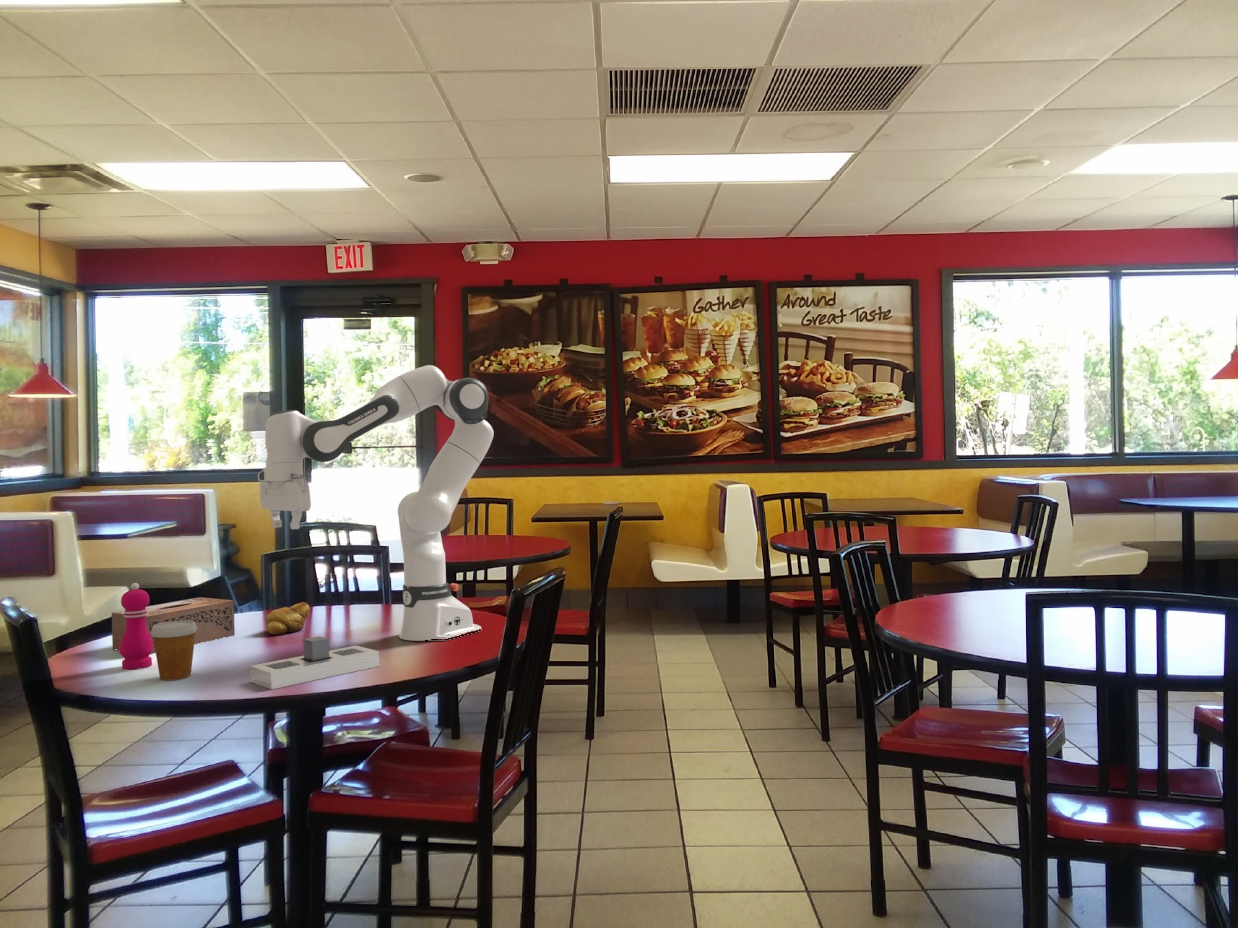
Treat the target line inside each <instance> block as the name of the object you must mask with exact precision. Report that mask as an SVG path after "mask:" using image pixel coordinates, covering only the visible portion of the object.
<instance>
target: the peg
mask: <svg viewBox="0 0 1238 928" xmlns="http://www.w3.org/2000/svg"><path fill="white" fill-rule="evenodd" d="M329 651H330V639H329V638H328V637H325V636H320V635H319V636H313V637H309V638H308V637H307V638H304V639H303V656H304V661H307V662H316V661H321V660H326V659H329Z"/></svg>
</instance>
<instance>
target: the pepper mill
mask: <svg viewBox="0 0 1238 928" xmlns="http://www.w3.org/2000/svg"><path fill="white" fill-rule="evenodd" d="M130 588H131V589H130V590H127V591H126V592H125V593H123V594H122V596H121V599H120V604H121V607H122V608H123V609H124V610H126V611H124V610H123V611H124V617H126V629H125V633H124V636H123V638H122V640H121V643H120V648H119V651H118V653H119V654H120V656H122V657H123V659H122V660H121V667H122V669H123V670H126V669H127V670H133V669H134V670H140V669H139V668H142V669H145V668H146V669H147V668H148V667H152V665H153V658H152V656H150V655H152V654H151V652H152V651H153V649H154V645H153V641H152V638H151V636H150V634H149V632H148V630H147V627H146V615H147V614H148V613H147V609H146V607H147V606H149V605H150V603H151V602H150V595H149V594H148V592H147V590H146V591H145V590H143V589H139V588H140V585H139V583H137V582H134V583H131V585H130Z"/></svg>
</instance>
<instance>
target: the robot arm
mask: <svg viewBox="0 0 1238 928" xmlns="http://www.w3.org/2000/svg"><path fill="white" fill-rule="evenodd" d="M432 406H434V407H435V408H436V409H437V410H438V411H439V412H440V413H441V414H442V415H443V416H444V417H445V418H446V419H448V420H451V421H454V428H453V430H452V433H451V435H450V436H449V437H448V439H447V440H446V442H445V443H444V444H443V446H442V448H441V449H440V450H439V452H438V454H437V455H436V457H435V458H434V459H433V461H432V463H431V464H430V465H429V468H428V471H427V474H426V476H425V478H424V479H423V482H422V484H421V486H420V488H419V489H418V491H413V492H410V493H408V494H406V495H405V496H404V497H403V498H402V499H401V500H400V502H399V503H398V506H397V517H398V523H399V535H400V540H401V547H402V554H403V580H404V581H403V582H404V583H403V585H402V601H403V615H402V623H401V629H400V633H399V636H398V638H399V637H400V638H399V639H401V640H404V641H414V642H415V641H416V642H417V641H419V642H421V641H422V642H426V641H425V640H428V641H432V640H431V639H448V638H451V637H455V636H459V635H461V634H465V633H467V632H471V631H476V630H479V629H481V630H482V626H481V625H479V624H475V623H474V621H473V614H472V611H471V609H470V607H468V606H467V605H466V604H464V603H463V602H461V601H460V600H459V599H457V598H456V597H454V596H453V595H452V594H453V592H457V591H458V590H459V589H460V587H459V584H458V583H448V582H447V574H446V573H447V571H446V552H445V550H444V545H443V539H442V534H441V532H442V531H443V530H445V529H446V528H447V526H448V525H449V524H450V522H451V519H452V515H453V514H454V511H455V510H456V507H457V506H458V503H459V501H460V498H461V497H462V494H463V492H464V490H465V488H466V487H467V485H468V483H469V482H470V480H471V479H472V477H473V476H474V474H475V473H476V471H477V469H478V468H479V466H480V464H481V463H482V461H483V460H484V458H485V456H486V454H487V453H488V451H489V448H490V447H491V445H492V441H493V439H494V437H495V436H494V433H495V432H494V429H493V427H492V425H491V424H490V423H489V422H488V421H487V420H485V419H486V418H487V417H488V407H489V392H488V389H487V387H486V386H485V384H484V383H483V382H481V381H480V380H478V379H477V378H473V377H464V378H463V377H462V378H459V379H456V380H454V381H452V380H449V379H448V378H446V376H445V374H444V373H443V372H442V370H441V369H440V368H438V367H437V366H435V365H432V364H431V365H430V364H427V365H423V366H420V367H417V368H414V369H411V370H409V371H407V372H404V373H402V374H399V375H398V376H397V377H395V378H393V379H391V380H390V381H388V382H386V383H385V384H384V385H382V386H381V387H380V388H378V389H377V390H376V392H375V394H374V395H373V397H372V398H371V399H370V400H369V401H368V402H367V403H365V404H363V405H362V406H361V407H358V408H356V409H355V410H353V411H352V412H349V413H348V414H346V415H345V416H344V415H343V416H342V417H340V418H337V419H333V420H321V421H317V420H315V419H313V418H310V417H307V416H306V415H304V414H302V413H301V412H300V411H298V410H296V409H290V410H289V409H288V410H281V411H277V412H275V413H272V414H271V415H269V417H267V419H266V423H265V424H266V425H265V434H264V436H265V437H264V438H265V439H264V441H265V448H266V453H267V454H266V455H267V456H266V459H265V467H264V468H263V469H262V470H260V471H259V472H258V474H257V479H258V480H257V481H259V483H260V484H259V501H260V506H261V508H262V510H269V515H270V518H271V520H272V521H271V522H272V527H273V528H282V526H283V524H282V523H283V521H282V520H281V517H280V514H281V511H284V512H287V511H288V512H291V516H292V517H291V521H290V522H289V526H290V529H291V530H299V529H300V527H301V525H300V523H301V519H302V516H303V512H308V511H310V509H311V506H312V505H311V504H312V503H311V502H312V501H311V492H310V485H309V483H308V482H307V480H306V478H305V477H304V467H303V466H304V465H303V464H304V463H303V460H304V458H308V459H312V460H314V461H316V462H320V463H321V462H322V463H325V462H332V461H333V460H335V459H337V458H338V457H339V456H341V454H343V452H344V451H345V449H346V448H347V447H348V445H349V444H350V443H352V442H353V441H355V440H356V439H357V438H359V437H361V436H363V435H365V434H367V433H369V432H370V431H372V430H374V429H376V428H377V427H380V426H382V425H385V424H392V423H397V422H401V421H403V420H406V419H408V418H411V417H413V416H415V415H417V414H418V413H420V412H423V411H424V410H426V409H427V408H429V407H432ZM452 591H453V592H452Z"/></svg>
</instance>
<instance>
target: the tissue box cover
mask: <svg viewBox="0 0 1238 928" xmlns="http://www.w3.org/2000/svg"><path fill="white" fill-rule="evenodd" d="M146 609H147V613H148V614H147V615H146V627H147V630H148V632H149V634H150V636H151V638H152V641H153V645H154V639H153V636H152V634H151V631H152V628H153V625H156V624H159V623H164V622H171V621H194V622H195V624H196V627H198V628H197V630H196V632H195V641H194V645H198V643H199V644H202V643H201V642H203V643H206V642H207V641H208V642H213V641H215V639H217V640H221V639H224V638H223V637H226V638H229V636H230V637H233V636H234V635H235V600H231V599H222V598H221V599H220V598H213V597H212V598H210V597H200V596H199V597H194V598H188V599H181V600H176V601H171V602H166V603H161V604H154V605H147V607H146ZM124 611H126V610H125V609H124V610H119V611H114V612H113V611H112V612H111V639H112V643H111V644H112V650H113V649H117V650H119V648H120V643H121V640H122V638H123V636H124V633H125V629H126V617H124ZM235 636H236V635H235ZM220 638H221V639H220ZM117 650H116V651H117ZM153 653H154V654H156V652H155V646H154V649H153V651H152V652H151V654H150V655H154V654H153Z"/></svg>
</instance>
